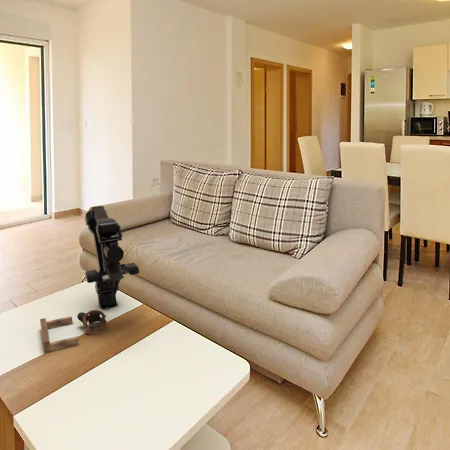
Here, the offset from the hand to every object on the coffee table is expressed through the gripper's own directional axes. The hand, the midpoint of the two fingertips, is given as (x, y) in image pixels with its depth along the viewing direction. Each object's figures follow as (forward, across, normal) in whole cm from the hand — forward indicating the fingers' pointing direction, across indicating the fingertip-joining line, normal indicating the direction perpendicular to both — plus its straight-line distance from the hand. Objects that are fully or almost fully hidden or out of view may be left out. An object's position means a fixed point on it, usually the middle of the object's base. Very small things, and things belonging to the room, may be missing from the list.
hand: (114, 293), depth 158 cm
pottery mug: (+12, -9, 0) cm, 15 cm away
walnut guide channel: (+12, -20, 0) cm, 23 cm away
